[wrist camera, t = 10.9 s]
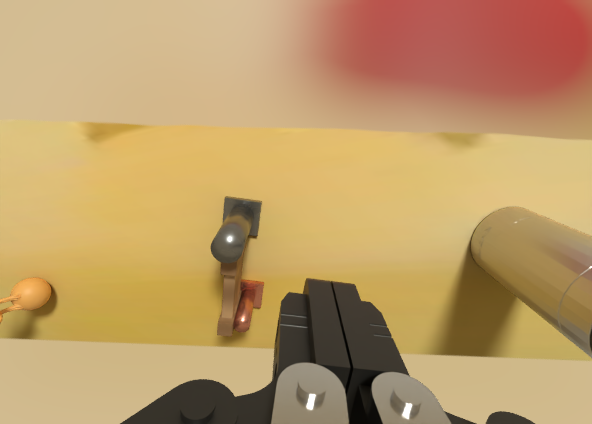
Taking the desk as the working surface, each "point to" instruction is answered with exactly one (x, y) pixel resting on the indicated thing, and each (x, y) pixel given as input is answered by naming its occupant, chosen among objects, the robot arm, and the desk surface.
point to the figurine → (27, 295)
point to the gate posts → (239, 251)
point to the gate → (230, 295)
